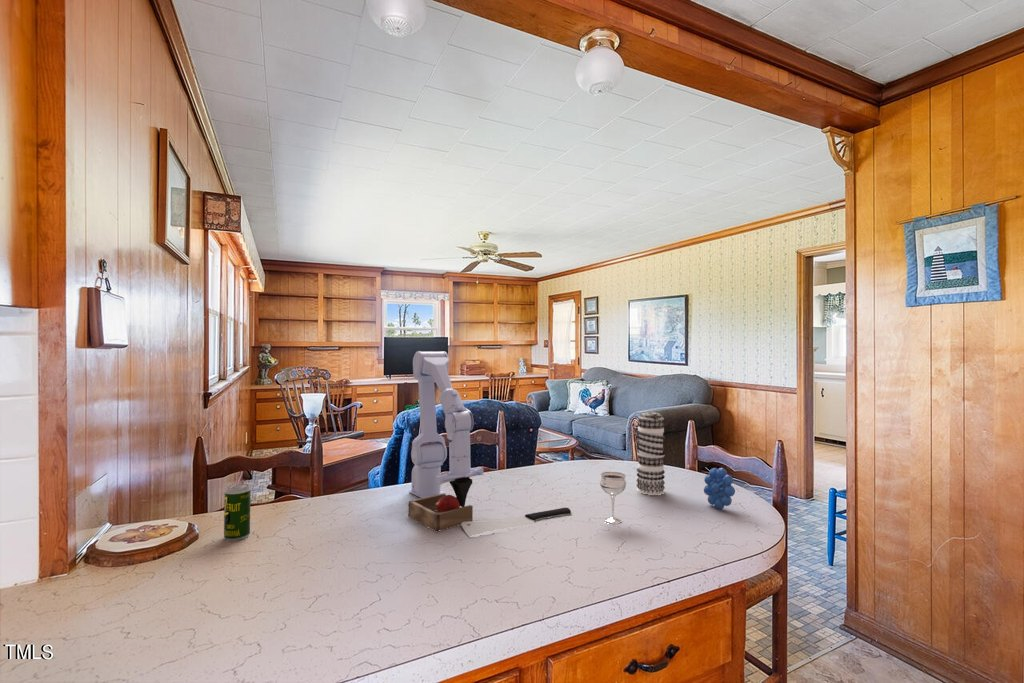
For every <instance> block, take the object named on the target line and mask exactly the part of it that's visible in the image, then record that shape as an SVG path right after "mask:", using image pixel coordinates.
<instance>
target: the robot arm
mask: <svg viewBox="0 0 1024 683" xmlns="http://www.w3.org/2000/svg"><path fill="white" fill-rule="evenodd" d="M449 367H450V355H448V352H446V351H443V350H442V351H421V350H417V351H416V352H415V353H414V355H413V358H412V373H413V378H414V379H416V380H417V383H418V384H417V385H418V401H419V403H418V404H419V424H420V433H419V434H418V435H417V436H416V437H415V438H414V439H413V440H412V442H411V444H412V445H411V452H410V456H411V461H412V462H411V463H413V464H414V465H413V467H412V470H411V489H410V490H408V493H410V494H413V495H414V496H416V497H418V498H419V499H420V498H425V497H429V496H433V495H438V494H442V493H444V494H445V495H447V492H446V491H443V490H441V489H442V488H441V487H442V486H441V485H443V484H446V483H449V484H450V486H451V488H452V490H453V491H454V495H455V497H456V498H457V499H458V501H459V505H460V508H461V507H465V506H466V501H467V496H468V493H469V490H470V488H471V486H472V484H473V479H472V477H476V476H483V475H484V467H481V466H477V467H471V431H473V428H474V424H475V423H474V416H473V412H471V410H470V409H468V407H465V405H464V402H463V401H462V400H463V399H462V398H461V395H460V393H459V391H458V390H456V389H453V385H452V381H451V377H450V374H449ZM435 384H436V386H437V388H438V390H439V391H440V395H439V402H440V405H441V407H442V410H443V413H444V415H445V420H444V427H445V431H446V437H447V439H448V449H447V446H446V440H445V438H444V436H442V435H441V434H440V433H438V430H437V429H438V427H437V411H436V410H437V408H436V407H437V406H436V393H435V392H436V391H435ZM448 451H449V452H448ZM448 454H449V455H448ZM447 456H449V459H448V460H449V462H448V463H449V464H448V465H449V471H447V472H445V473H441V472H442V471H441V470H442V469H441V468H442V466H443V465H444V462H445V461H446V460H447Z"/></svg>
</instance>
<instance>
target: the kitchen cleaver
mask: <svg viewBox="0 0 1024 683" xmlns="http://www.w3.org/2000/svg"><path fill="white" fill-rule="evenodd" d="M569 514H572V511H571V509H570V508H569V507H562V508H561V507H560V508H555V509H550V510H543V511H538V512H532V513H527V514H524V515H523V516H522V515H521V516H517V517H509V518H501V519H495V520H494V519H492V520H474V521H473V520H472V521H467V522H462V523H461V525H460V526H461V528H462V529H463V531H464V533H465V534H466V536H467V535H468V536H469V537H470V536H472V535H475V534H480V533H483V532H486V531H493V530H495V529H500V528H501V529H504V528H508V527H515V526H521V525H528V524H529V525H530V524H531V525H532V524H536V523H535V522H536V520H537V521H540V520H539V519H541V520H544V519H543V518H546V519H549V518H548V517H552V518H555V517H554V516H558V517H561V516H560V515H564V516H570V515H569ZM534 521H535V522H534ZM468 536H467V537H468ZM469 537H468V538H469Z"/></svg>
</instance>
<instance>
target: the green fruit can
mask: <svg viewBox="0 0 1024 683" xmlns="http://www.w3.org/2000/svg"><path fill="white" fill-rule="evenodd" d="M251 490H252V489H251V486H250V484H249V483H235V484H230V485H228V486H226V487H225V491H224V500H223V501H224V506H223V508H224V509H223V512H224V514H223V518H224V519H223V538H224V540H225V541H226V540H227V542H231V541H232V542H239V541H243V540H245V539H247V538H248V537H249V536H250V535H251V534H250V533H251V497H252V496H251V492H252V491H251Z"/></svg>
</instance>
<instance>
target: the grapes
mask: <svg viewBox="0 0 1024 683" xmlns="http://www.w3.org/2000/svg"><path fill="white" fill-rule="evenodd" d="M708 473H709V474H707V475H705V477H704V480H703V481H704V483H705V484H706V485H705V486H704V488H703V492H704V494H705V495H706V496H707V502H708V503H709V504H710V505H712V506H713V505H714V507H715V508H716V509H718V510H723V509H724V507H729V506H730V505H731V504H732V503H733V502H732V500H733V499H732V497H733V496H734V495H735V493H736V489H735V487H734V486H733V482H734V478H733V477H732V475H730V474H728V472H727V470H726V469H725V467H719V468H717V467H713V468H711V469H710V470H709V472H708Z"/></svg>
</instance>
